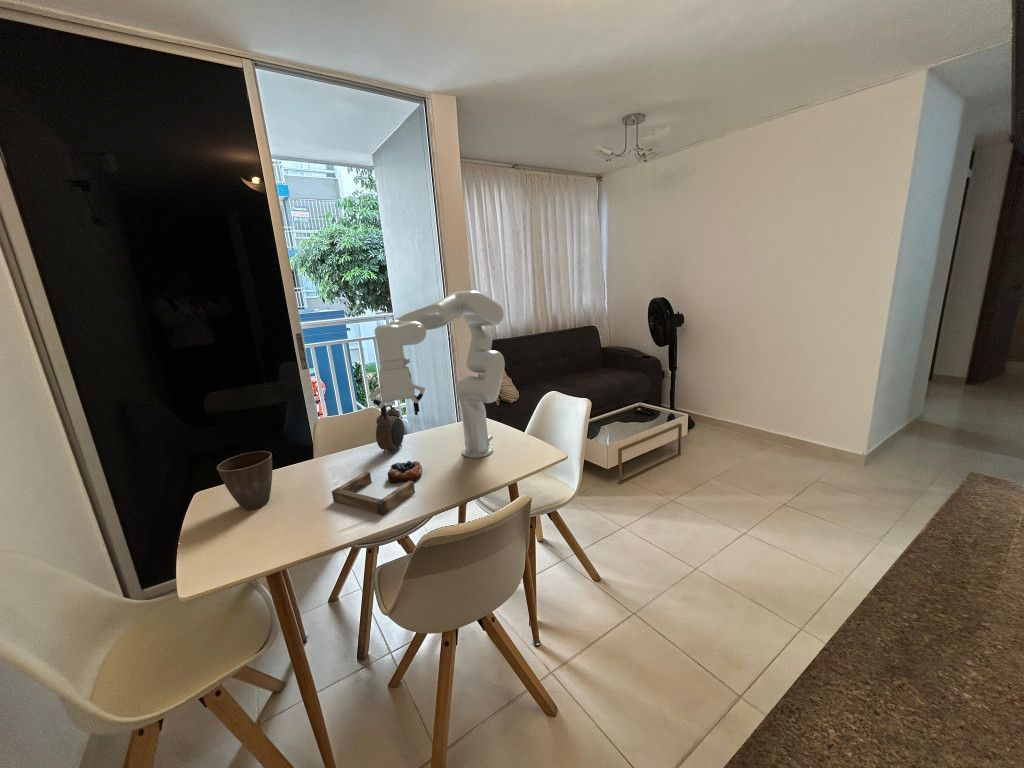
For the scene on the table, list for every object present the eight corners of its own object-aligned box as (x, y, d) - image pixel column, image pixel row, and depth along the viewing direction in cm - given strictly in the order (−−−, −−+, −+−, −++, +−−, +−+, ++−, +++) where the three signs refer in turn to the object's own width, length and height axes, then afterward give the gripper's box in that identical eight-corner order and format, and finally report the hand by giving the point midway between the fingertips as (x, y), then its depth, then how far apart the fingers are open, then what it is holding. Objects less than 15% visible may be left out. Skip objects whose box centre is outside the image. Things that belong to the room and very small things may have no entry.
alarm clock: (394, 457, 159) (387, 411, 154) (377, 457, 160) (370, 411, 155) (408, 443, 173) (402, 400, 168) (393, 443, 174) (387, 400, 169)
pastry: (393, 471, 147) (390, 457, 145) (424, 468, 147) (423, 454, 146) (385, 486, 136) (383, 470, 135) (420, 482, 137) (418, 467, 135)
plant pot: (236, 499, 134) (225, 456, 130) (285, 488, 139) (275, 447, 135) (222, 522, 120) (209, 475, 116) (277, 509, 125) (265, 464, 121)
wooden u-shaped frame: (367, 481, 140) (365, 471, 139) (415, 492, 130) (413, 481, 129) (333, 502, 127) (331, 491, 126) (383, 515, 117) (381, 504, 116)
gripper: (421, 359, 126) (428, 408, 131) (365, 365, 123) (375, 416, 128) (420, 363, 119) (428, 415, 124) (362, 370, 116) (372, 423, 120)
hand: (401, 416), depth 126 cm, fingers open, 9 cm apart
